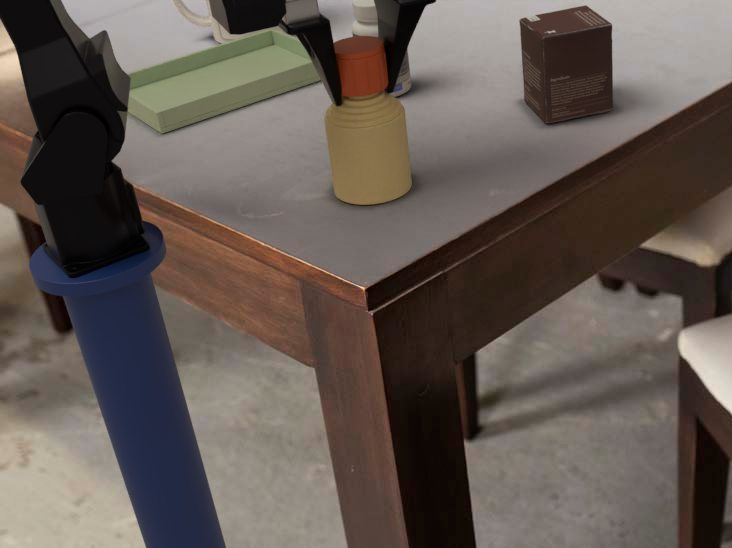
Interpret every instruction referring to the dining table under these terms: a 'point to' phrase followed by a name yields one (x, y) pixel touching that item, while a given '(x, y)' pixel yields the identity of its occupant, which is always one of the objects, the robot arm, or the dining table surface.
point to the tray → (219, 79)
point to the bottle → (368, 149)
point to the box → (567, 63)
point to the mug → (212, 23)
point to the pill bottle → (369, 27)
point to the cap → (361, 65)
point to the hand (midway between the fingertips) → (363, 98)
